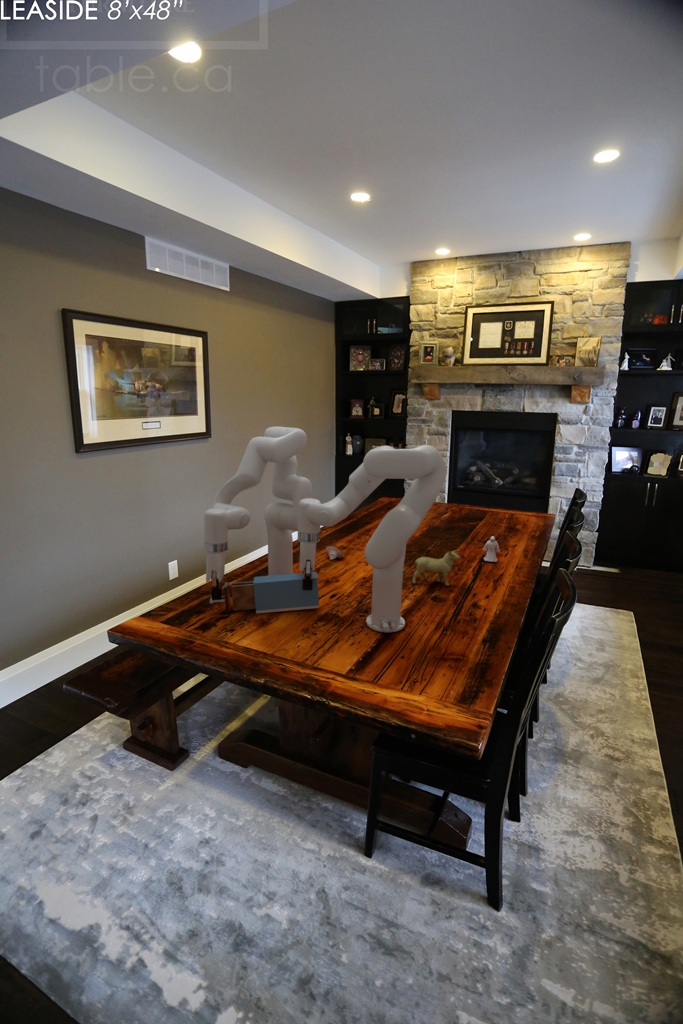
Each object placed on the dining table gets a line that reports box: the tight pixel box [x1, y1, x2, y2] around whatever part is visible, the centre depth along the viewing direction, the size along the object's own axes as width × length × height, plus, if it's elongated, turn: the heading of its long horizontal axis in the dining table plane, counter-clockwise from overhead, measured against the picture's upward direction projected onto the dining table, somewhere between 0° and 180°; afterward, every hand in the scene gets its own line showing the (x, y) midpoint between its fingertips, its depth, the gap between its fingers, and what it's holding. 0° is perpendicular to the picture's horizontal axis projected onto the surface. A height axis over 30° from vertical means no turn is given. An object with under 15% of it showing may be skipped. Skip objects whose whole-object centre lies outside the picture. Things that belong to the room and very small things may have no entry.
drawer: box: [209, 580, 256, 614], centre depth 170 cm, size 25×4×9 cm, turn 96°
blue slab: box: [253, 571, 320, 614], centre depth 171 cm, size 21×6×11 cm, turn 96°
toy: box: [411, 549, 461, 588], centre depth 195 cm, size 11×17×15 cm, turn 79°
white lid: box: [325, 545, 343, 561], centre depth 222 cm, size 8×5×8 cm
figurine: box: [482, 535, 501, 563], centre depth 223 cm, size 8×8×12 cm
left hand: (216, 598), depth 168 cm, fingers closed
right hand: (307, 585), depth 171 cm, fingers closed on blue slab, 5 cm apart
